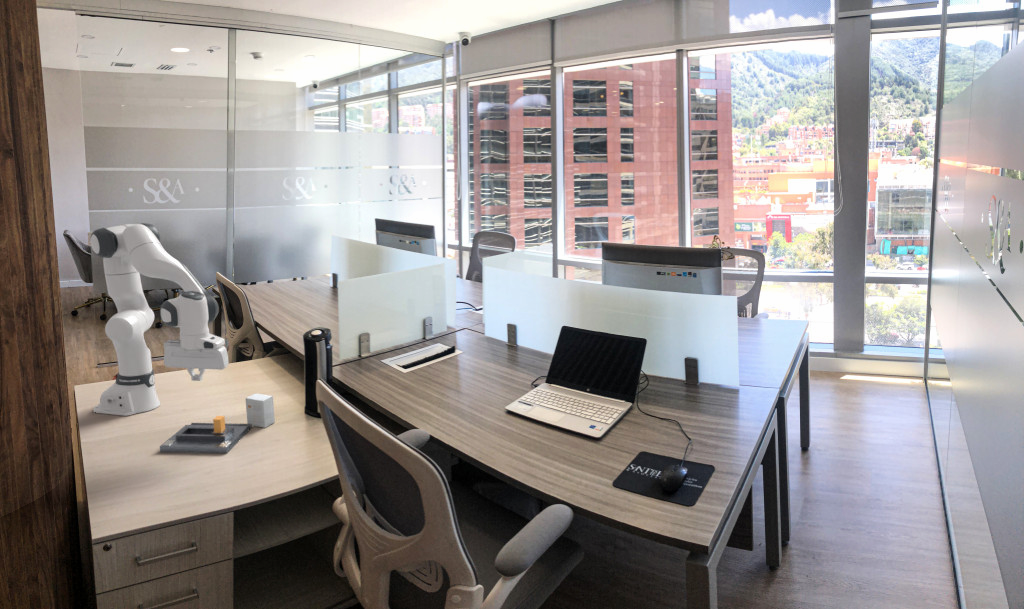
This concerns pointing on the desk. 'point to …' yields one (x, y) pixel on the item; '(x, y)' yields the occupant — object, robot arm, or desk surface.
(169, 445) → the breaker panel
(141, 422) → the desk surface
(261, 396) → the small box
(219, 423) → the lever
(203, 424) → the twin grey rods
